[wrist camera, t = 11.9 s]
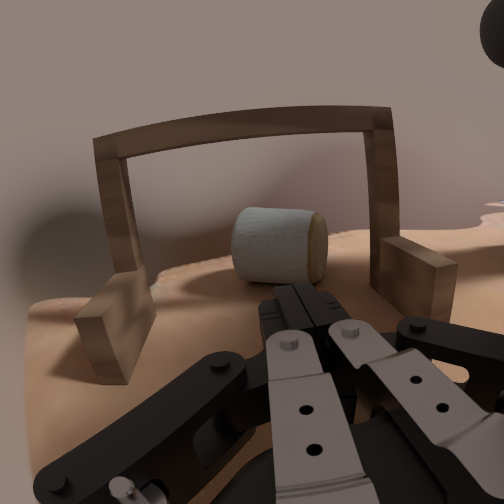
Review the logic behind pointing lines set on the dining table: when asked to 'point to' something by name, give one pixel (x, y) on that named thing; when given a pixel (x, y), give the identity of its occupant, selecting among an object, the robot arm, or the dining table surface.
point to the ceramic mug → (279, 245)
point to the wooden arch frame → (233, 128)
